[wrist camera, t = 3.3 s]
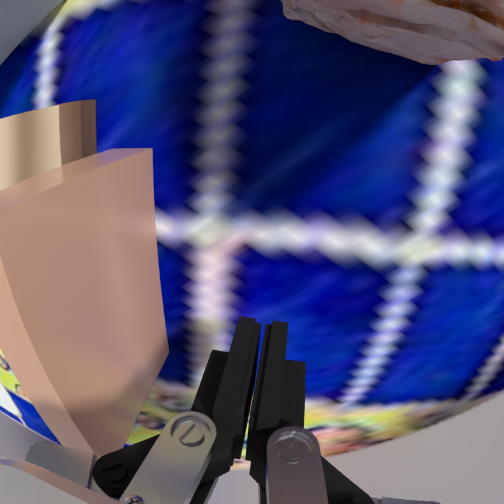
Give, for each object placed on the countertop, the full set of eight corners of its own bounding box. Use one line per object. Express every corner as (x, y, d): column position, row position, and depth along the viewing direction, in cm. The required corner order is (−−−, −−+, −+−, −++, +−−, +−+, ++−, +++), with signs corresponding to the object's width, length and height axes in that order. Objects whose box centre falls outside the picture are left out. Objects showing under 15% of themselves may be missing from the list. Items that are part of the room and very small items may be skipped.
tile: (153, 148, 13) (-9, 218, 5) (169, 351, 18) (110, 474, 10) (107, 149, 13) (-51, 214, 5) (133, 343, 19) (67, 455, 11)
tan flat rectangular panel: (74, 102, 12) (66, 103, 12) (115, 363, 20) (111, 369, 19) (-19, 125, 13) (-26, 126, 13) (28, 333, 21) (24, 337, 20)
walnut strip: (95, 99, 12) (80, 100, 11) (132, 368, 20) (125, 380, 19) (74, 102, 12) (59, 104, 11) (115, 363, 20) (108, 375, 19)
